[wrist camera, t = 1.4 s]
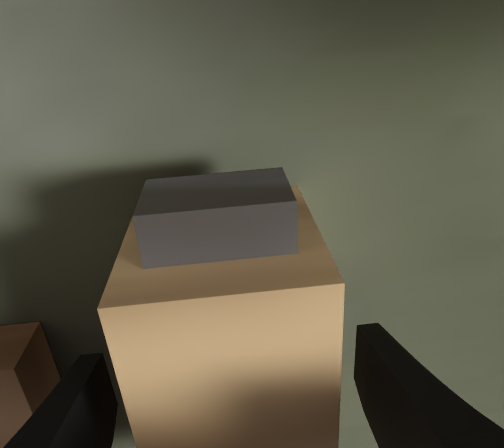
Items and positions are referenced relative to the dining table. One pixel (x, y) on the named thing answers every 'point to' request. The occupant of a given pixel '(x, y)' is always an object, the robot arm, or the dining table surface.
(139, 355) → the tan rectangular block
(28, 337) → the brown rectangular panel
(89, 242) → the dining table surface
